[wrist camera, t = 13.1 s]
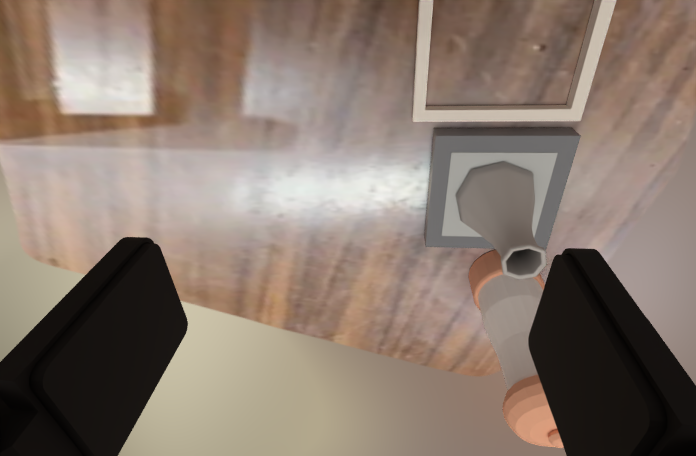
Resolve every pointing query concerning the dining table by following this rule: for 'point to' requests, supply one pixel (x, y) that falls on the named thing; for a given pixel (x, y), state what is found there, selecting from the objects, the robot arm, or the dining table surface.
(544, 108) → the tray frame
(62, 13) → the dining table surface
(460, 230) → the slate pad
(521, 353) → the salt shaker
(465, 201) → the flask
